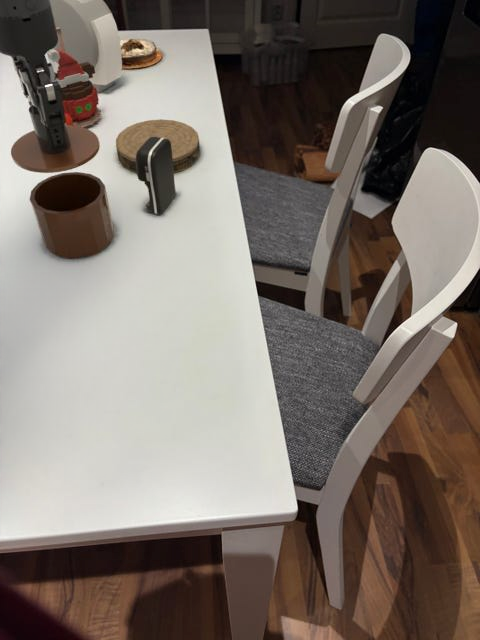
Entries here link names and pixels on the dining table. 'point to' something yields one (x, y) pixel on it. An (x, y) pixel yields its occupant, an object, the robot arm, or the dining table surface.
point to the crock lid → (39, 156)
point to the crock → (73, 214)
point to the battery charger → (156, 172)
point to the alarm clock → (89, 38)
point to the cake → (76, 86)
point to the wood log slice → (176, 132)
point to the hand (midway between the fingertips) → (53, 140)
